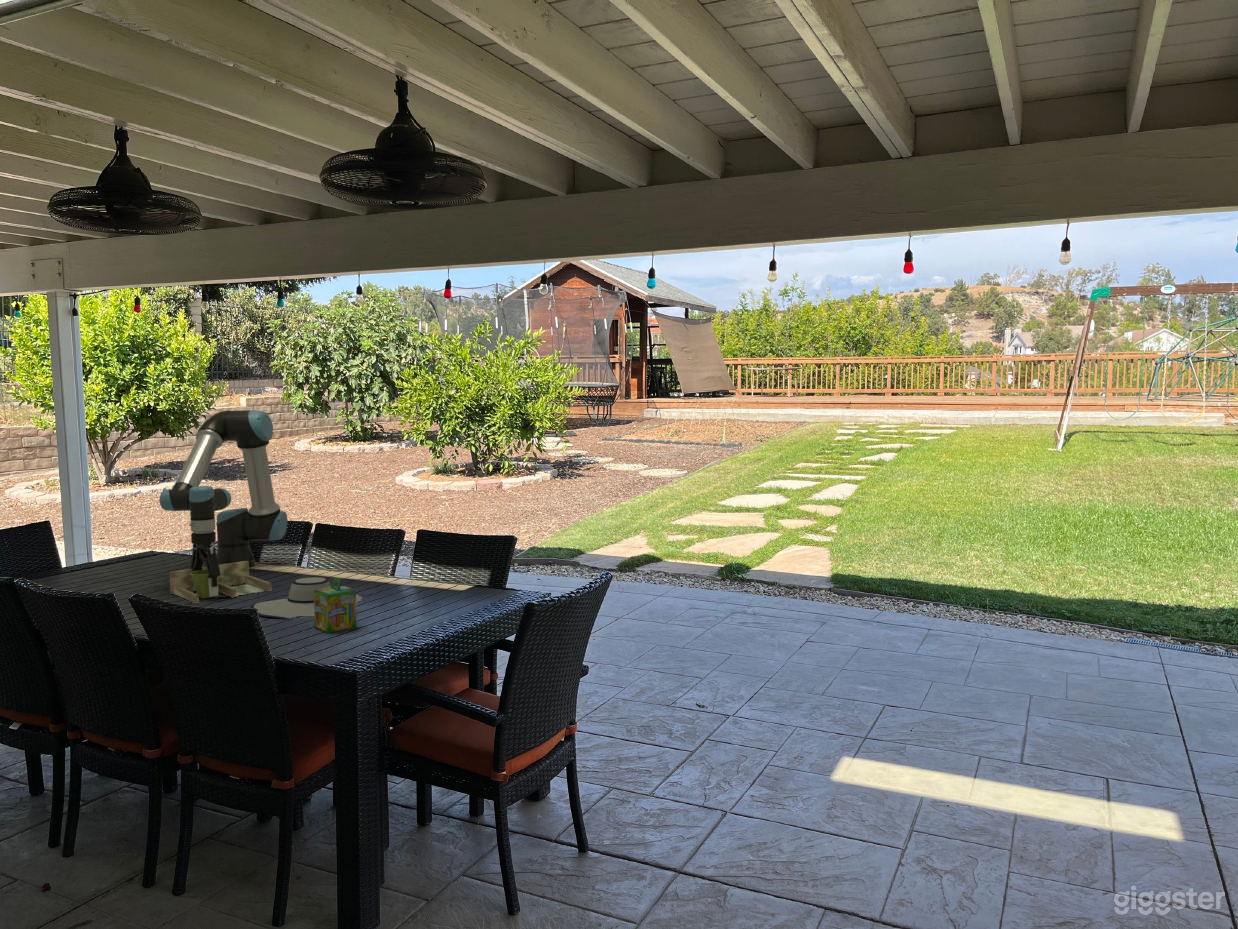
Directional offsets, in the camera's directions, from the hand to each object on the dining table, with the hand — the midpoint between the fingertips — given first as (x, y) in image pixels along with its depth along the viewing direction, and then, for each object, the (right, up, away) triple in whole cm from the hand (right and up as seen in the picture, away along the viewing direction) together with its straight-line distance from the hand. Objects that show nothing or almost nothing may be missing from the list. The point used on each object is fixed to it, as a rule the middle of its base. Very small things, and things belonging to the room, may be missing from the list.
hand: (206, 593), depth 296 cm
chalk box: (+58, -4, -41) cm, 71 cm away
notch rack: (+3, -1, +6) cm, 6 cm away
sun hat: (+40, -3, -13) cm, 43 cm away
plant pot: (0, -1, 0) cm, 1 cm away
